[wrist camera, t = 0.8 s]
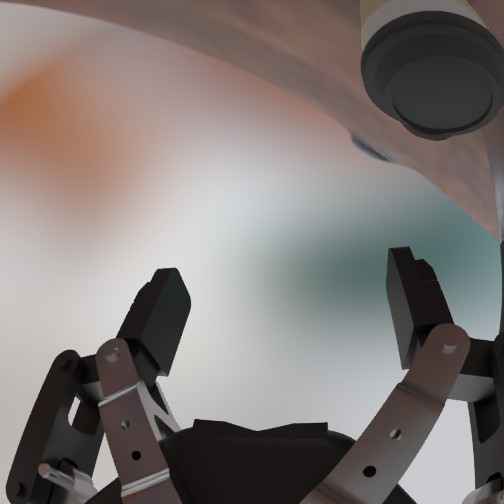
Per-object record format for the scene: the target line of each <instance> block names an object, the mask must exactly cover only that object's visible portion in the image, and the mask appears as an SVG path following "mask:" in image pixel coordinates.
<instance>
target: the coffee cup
mask: <svg viewBox="0 0 504 504" xmlns="http://www.w3.org/2000/svg"><path fill="white" fill-rule="evenodd" d="M360 19H361V45H362V49H363V54H362V58H361V74H362V78H363V81H364V86H365V89H366V92H367V94H368V96H369V97H370V99H371V100H372V102H373V103H374V104H375V105H376V106H377V107H378V108H379V109H380V110H382V111H383V112H384V113H386V114H387V115H389V116H390V117H392V118H394V119H396V120H398V121H400V122H401V123H402V124H403V126H404V127H405V128H406V129H407V130H408V131H410V132H411V133H412V134H414V135H416V136H418V137H421V138H425V139H429V140H435V141H440V140H445V139H447V138H450V137H452V136H454V135H460V134H465V133H469V132H472V131H475V130H478V129H480V128H482V127H483V126H485V125H486V124H488V123H489V122H490V121H491V120H492V119H493V118H494V117H495V116H496V115H497V113H498V111H499V110H500V109H501V108H502V107H503V105H504V50H503V48H502V46H501V45H500V43H499V42H498V40H497V39H496V38H495V37H494V36H493V35H492V33H490V32H489V31H488V30H487V27H486V25H485V24H484V22H483V21H482V19H481V18H480V16H479V15H478V14H477V13H476V11H475V10H474V9H473V8H472V7H471V5H470V4H469V3H468V2H467V1H466V0H360Z"/></svg>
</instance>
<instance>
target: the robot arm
mask: <svg viewBox="0 0 504 504" xmlns="http://www.w3.org/2000/svg"><path fill="white" fill-rule="evenodd" d="M481 130H482V134H483V137H484V142H485V146H486V150H487V155H488V159H489V164H490V169H491V175H492V180H493V186H494V193H495V199H496V207H497V214H498V223H499V234H500V249H501V265H502V308H501V321H500V330H499V335H498V336H497V337H496V338H495V340H494V341H488V340H480V339H473V338H470V337H469V336H468V334H467V333H466V331H465V330H463V329H462V328H461V327H459V326H457V325H455V324H454V322H453V319H452V316H451V313H450V311H449V308H448V305H447V303H446V300H445V297H444V295H443V292H442V290H441V287H440V285H439V282H438V281H437V277H436V275H435V272H434V270H433V268H432V267H431V266H430V265H429V264H428V263H427V262H426V261H425V260H424V259H420V260H415V259H414V257H413V254H412V252H411V249H410V247H409V246H407V247H397V248H390V249H389V250H388V263H387V277H386V289H387V297H388V301H389V306H390V310H391V315H392V319H393V324H394V328H395V334H396V339H397V344H398V349H399V354H400V360H401V366H402V370H404V369H409V371H408V372H407V374H406V376H405V377H404V379H403V381H402V382H401V383H398V384H397V385H396V387H395V388H394V389H393V391H392V392H391V394H390V396H389V397H388V399H387V400H386V401H385V403H384V404H383V406H382V407H381V409H380V410H379V411H378V413H377V414H376V416H375V417H374V419H373V420H372V421H371V423H370V424H369V425H368V427H367V428H366V429H365V431H364V432H363V433H362V435H361V436H360V437H359V439H358V440H357V441H356V440H354V439H352V438H351V437H349V436H346V435H344V434H341V433H338V432H334V431H330V430H328V423H327V422H325V423H297V424H296V423H293V424H289V425H284V426H280V427H276V428H271V429H266V430H261V431H254V430H250V429H247V428H244V427H241V426H237V425H234V424H231V423H228V422H225V421H212V420H200V419H195V420H194V424H193V427H191V428H187V429H183V430H182V429H181V428H180V427H179V425H178V424H177V422H176V421H175V419H174V417H173V415H172V413H171V411H170V408H169V406H168V404H167V402H166V399H165V397H164V395H163V393H162V390H161V388H160V385H159V384H158V382H156V378H157V376H167V377H168V375H169V372H170V369H171V366H172V363H173V360H174V357H175V354H176V351H177V348H178V345H179V342H180V339H181V336H182V333H183V330H184V327H185V324H186V321H187V318H188V315H189V313H190V309H191V299H190V295H189V293H188V291H187V288H186V286H185V284H184V282H183V280H182V277H181V275H180V273H179V271H178V269H177V268H163V269H157V270H156V272H155V273H154V275H153V277H152V280H151V281H150V282H147V283H146V284H145V285H144V286H143V287H142V288H141V289H140V290H139V292H138V294H137V296H136V298H135V299H134V303H133V304H132V305H131V307H130V311H129V312H128V314H127V315H126V318H125V320H124V322H123V324H122V326H121V328H120V330H119V332H118V334H117V336H116V338H114V339H111V340H108V341H107V342H105V343H104V344H103V345H102V346H101V347H100V348H99V350H98V351H97V353H96V354H94V355H90V356H86V357H80V356H79V355H78V353H77V352H76V351H74V350H66V351H64V352H62V353H60V354H59V355H58V356H57V357H56V358H55V360H54V362H53V364H52V366H51V368H50V370H49V372H48V374H47V376H46V379H45V381H44V383H43V385H42V388H41V390H40V393H39V395H38V397H37V399H36V402H35V404H34V407H33V409H32V411H31V414H30V416H29V419H28V422H27V424H26V427H25V429H24V432H23V435H22V437H21V440H20V443H19V446H18V449H17V452H16V455H15V458H14V461H13V464H12V467H11V470H10V473H9V476H8V480H7V483H6V495H7V498H8V500H9V502H10V503H11V504H417V503H416V502H415V501H414V500H413V499H412V498H411V497H410V496H409V495H408V494H407V493H406V492H405V491H404V489H402V487H401V486H400V485H399V484H398V482H399V480H400V479H401V477H402V476H403V475H404V473H405V472H406V470H407V469H408V467H409V466H410V464H411V463H412V461H413V460H414V458H415V457H416V455H417V453H418V452H419V450H420V449H421V447H422V445H423V444H424V442H425V440H426V439H427V437H428V435H429V434H430V432H431V430H432V428H433V427H434V425H435V423H436V421H437V419H438V418H439V416H440V414H441V412H442V410H443V408H444V405H445V402H446V400H447V399H453V400H462V401H467V403H468V409H469V416H470V424H471V432H472V441H473V453H474V467H475V490H474V491H472V492H471V493H470V494H469V495H467V497H466V498H465V499H464V501H463V502H462V504H504V105H503V107H502V108H501V109H500V110H499V111H498V113H497V115H496V116H495V117H494V118H493V119H492V120H491V121H490V122H489V123H488V124H486V125H485V126H483V127H482V128H481ZM75 397H77V398H78V399H79V400H80V404H79V407H78V409H77V412H76V415H75V417H74V420H73V423H72V426H71V425H70V424H69V421H68V414H69V411H70V409H71V406H72V403H73V401H74V398H75ZM104 432H105V434H106V438H107V441H108V445H109V448H110V451H111V455H112V458H113V461H114V464H115V467H116V470H117V473H118V476H119V477H118V478H116V479H115V480H114V481H113V482H111V483H110V484H108V485H107V486H106V487H105V488H103V489H102V490H101V491H99V492H97V489H96V488H94V487H93V482H92V480H91V479H92V475H93V471H94V467H95V464H96V460H97V456H98V453H99V449H100V446H101V442H102V439H103V436H104Z"/></svg>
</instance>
